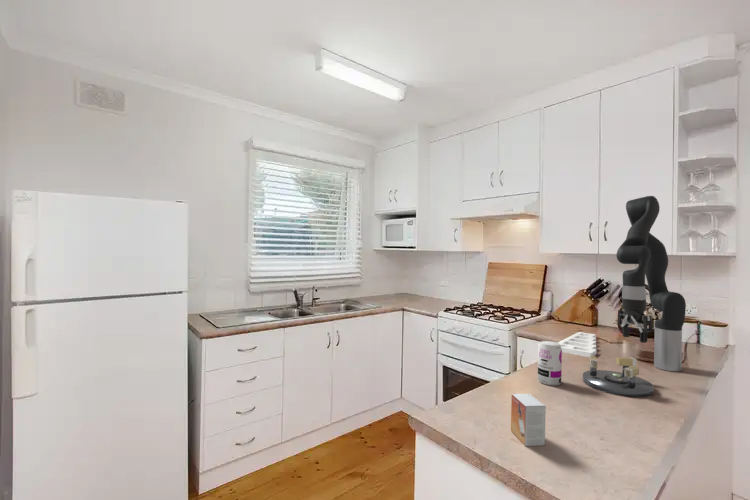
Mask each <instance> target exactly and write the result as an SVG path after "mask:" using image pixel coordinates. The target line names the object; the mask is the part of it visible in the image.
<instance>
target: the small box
mask: <svg viewBox="0 0 750 500" xmlns="http://www.w3.org/2000/svg"><path fill="white" fill-rule="evenodd" d="M510 406H511V407H510V408H511V410H510V412H511V413H510V431H511V432H512V433H513V435H515V437H516V438H517V439H518V440H519V441H520V442H521V443H522V445H523V446H524V447H534V446H536V447H537V446H540V447H541V446H545V444H546V443H545V442H546V413H547V412H546V409H547V406H546V405H545V404H543V402H541V401H540V400H539V399H537V398H536V397H534V396H533V395H532V394H531V393H512V394H511V405H510Z"/></svg>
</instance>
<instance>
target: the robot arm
mask: <svg viewBox="0 0 750 500" xmlns="http://www.w3.org/2000/svg"><path fill="white" fill-rule="evenodd" d="M660 208H661V207H660V203H659V200H658V198H657V197H656V196H654V195H647V196H643V197H642V196H641V197H638V198H634V199H629V200H628V201H627V202H626V204H625V209H626V214H627V218H628V219H629V222H630V225H631V226H630V228H629V229H628V231H627V234H626V238H625V240H624V241H623V243H622V244H620V246H619V247H618V249H617V251H616V260H617V261H618V262H619V263H621V264H624V265H637V267H636V268H634V269H628V270H624V271H623V273H622V290H621V302H622V303H621V304H622V305H621V306H622V307H621V308H622V309H618V310H617V324H618V325H619V326H620V327H621V328H622V329H621V330H622V331H621V334H622V337H623V338H629V337H630V326H631V324H632V325H634V326H635V328H636V327H637V329H638V331H639V342H640V343H641V344H643V343H645V344H646V343H647V342H648V333H652V332H653V331H654V337H653V338H654V340H653V341H654V349H653V352H654V353H653V358H654V359H653V366H654V367H655V368H656V369H659V370H663V371H668V372H681V371H682V363H683V362H682V357H683V355H682V354H683V346H682V345H683V343H682V342H683V326H684V324H685V319H686V310H687V308H686V306H687V305H686V303H687V302H686V299H685V297H684V296H683V295H682V294H680V293H679V292H675V291H669V289H668V286H667V284H666V283H667V282H666V274H667V273H666V272H667V269H668V266H669V257H668V252H667V250H666V249H667V248H666V247H665V244H663V242H662V241H661V240H659V239H658V238H657V237H656V236H655V235H653V234H652V233H651V232H650V231H651V229H652V227H653V226H654V223H655V222H656V220H657V218H658V216H659V214H660ZM646 281H647V288H648V294H649V300H650V301H649V302H650V304H651V306H652V308H653V309H655V310H656V311H658V312H662V313H661V318H659V319H656V320H654V329H653V317H652V315H650V314H649V315H645V311H646V310H647V290H646Z"/></svg>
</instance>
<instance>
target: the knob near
mask: <svg viewBox="0 0 750 500" xmlns="http://www.w3.org/2000/svg"><path fill="white" fill-rule="evenodd" d="M615 364H616V365H617V366H620V367H621V366H622V372H621V373H622V374H623V375H624V368H628V367H630V366H636V367H637V358H635V357H633V356H632V357H631V356H630V357H622V356H620V357H619V356H618V357H617V356H616V357H615Z"/></svg>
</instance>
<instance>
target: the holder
mask: <svg viewBox="0 0 750 500" xmlns="http://www.w3.org/2000/svg"><path fill="white" fill-rule="evenodd" d="M557 343H559V344H560V346H561V348H562V353H565V354H571V355H576V356H581V357H584V358H590V356H595V357H596V355H597V334H596V333H595V334H594V333H590V332H589V333H588V332H583V331H582V332H581V331H578V332H576V333H574V334H572V335H570V336H568V337H566V338H564V339H562V340H560V341H558V342H557Z"/></svg>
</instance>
